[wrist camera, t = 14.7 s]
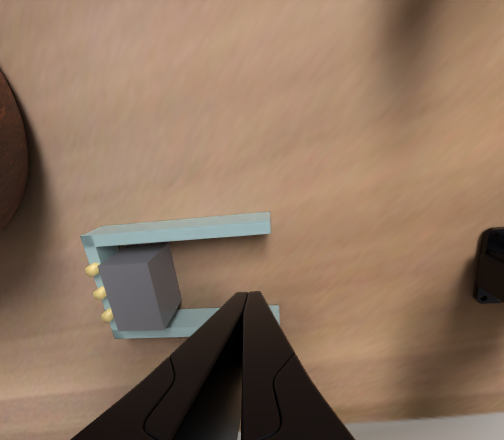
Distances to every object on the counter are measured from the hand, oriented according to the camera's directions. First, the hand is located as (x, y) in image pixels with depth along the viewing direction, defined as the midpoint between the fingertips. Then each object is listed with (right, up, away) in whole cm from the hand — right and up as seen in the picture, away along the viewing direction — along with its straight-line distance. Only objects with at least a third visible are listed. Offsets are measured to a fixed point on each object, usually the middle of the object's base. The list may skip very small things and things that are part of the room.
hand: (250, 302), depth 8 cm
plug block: (-9, -2, +14) cm, 17 cm away
